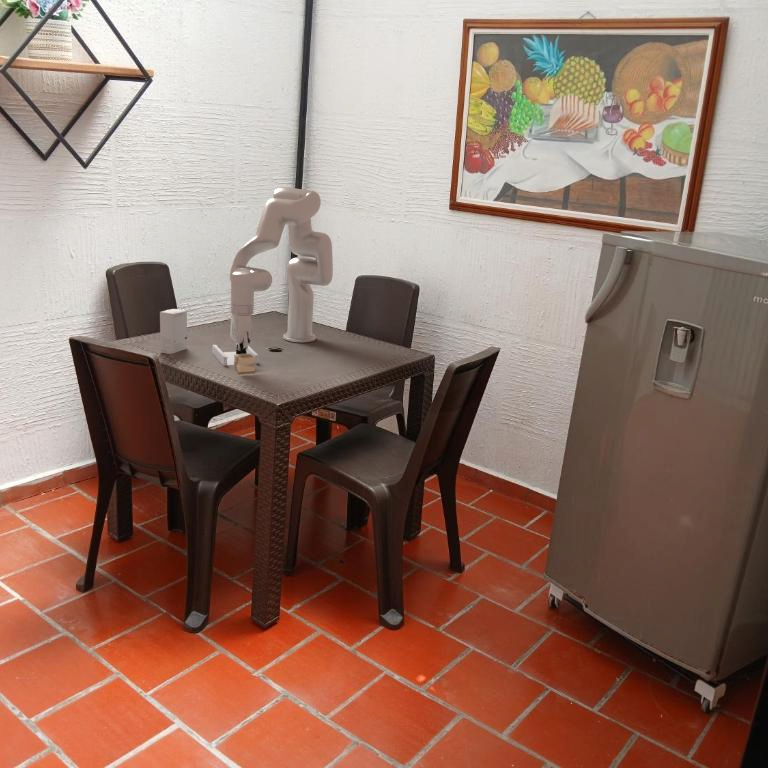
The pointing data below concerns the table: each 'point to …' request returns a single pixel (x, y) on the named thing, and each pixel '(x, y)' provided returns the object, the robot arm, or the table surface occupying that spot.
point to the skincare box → (173, 331)
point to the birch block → (244, 363)
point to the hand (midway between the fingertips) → (241, 361)
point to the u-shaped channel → (230, 355)
